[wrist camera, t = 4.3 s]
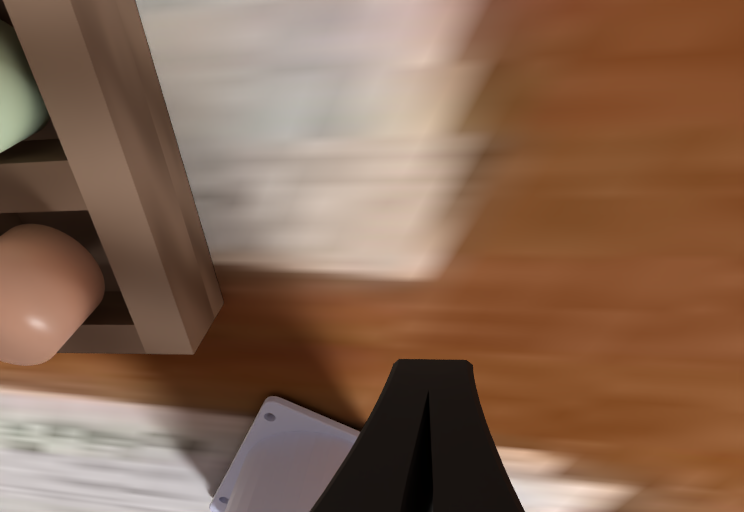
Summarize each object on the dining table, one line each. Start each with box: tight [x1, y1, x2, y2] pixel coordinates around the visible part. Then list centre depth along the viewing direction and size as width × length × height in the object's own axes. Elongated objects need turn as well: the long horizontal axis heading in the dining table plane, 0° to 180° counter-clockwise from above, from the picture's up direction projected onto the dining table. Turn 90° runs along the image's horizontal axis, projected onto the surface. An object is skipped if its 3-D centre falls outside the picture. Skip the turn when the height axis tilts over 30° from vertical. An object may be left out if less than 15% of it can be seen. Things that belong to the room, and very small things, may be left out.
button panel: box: [0, 0, 224, 354], centre depth 17 cm, size 19×8×3 cm, turn 6°
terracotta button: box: [0, 224, 105, 366], centre depth 18 cm, size 4×4×2 cm
